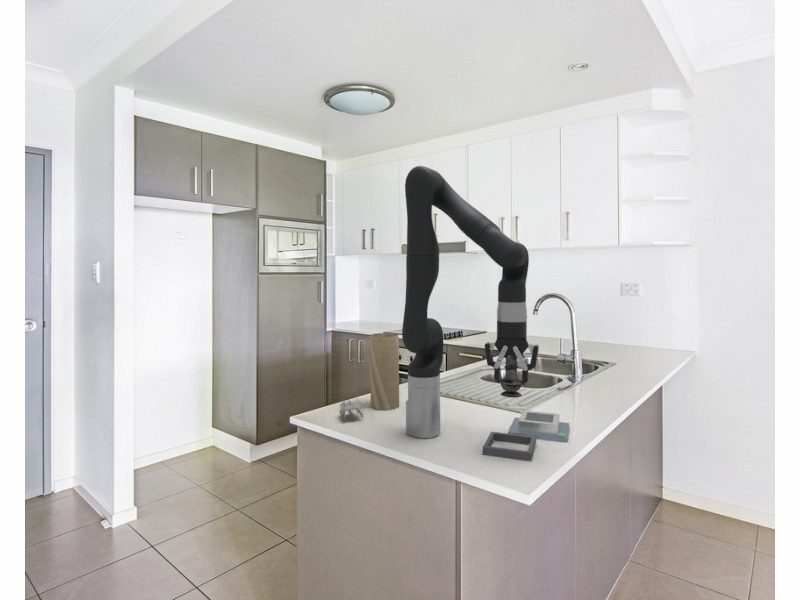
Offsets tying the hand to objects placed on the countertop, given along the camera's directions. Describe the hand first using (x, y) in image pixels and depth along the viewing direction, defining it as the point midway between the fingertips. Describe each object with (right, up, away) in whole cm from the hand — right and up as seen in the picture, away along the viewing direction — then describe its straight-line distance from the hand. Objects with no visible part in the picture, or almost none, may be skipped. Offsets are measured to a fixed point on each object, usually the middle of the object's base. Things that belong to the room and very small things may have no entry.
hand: (511, 382), depth 122 cm
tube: (-34, -16, +41) cm, 55 cm away
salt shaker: (0, -3, 0) cm, 3 cm away
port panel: (+12, -16, +14) cm, 25 cm away
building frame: (-45, -17, +28) cm, 55 cm away
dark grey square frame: (0, -17, +1) cm, 17 cm away
